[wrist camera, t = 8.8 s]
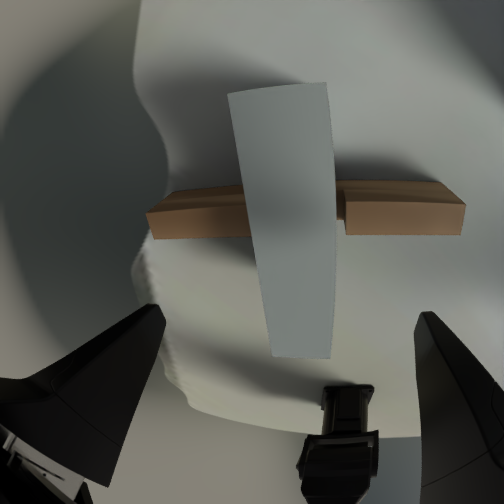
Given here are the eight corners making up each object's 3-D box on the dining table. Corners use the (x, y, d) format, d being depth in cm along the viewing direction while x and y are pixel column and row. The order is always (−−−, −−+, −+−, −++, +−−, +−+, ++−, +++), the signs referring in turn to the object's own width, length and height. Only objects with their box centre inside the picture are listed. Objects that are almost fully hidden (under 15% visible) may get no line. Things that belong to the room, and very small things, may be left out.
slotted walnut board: (438, 208, 16) (460, 235, 13) (179, 215, 21) (154, 239, 18) (441, 182, 15) (465, 204, 12) (173, 192, 20) (145, 213, 17)
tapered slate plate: (331, 277, 21) (330, 358, 15) (288, 277, 22) (271, 356, 15) (321, 91, 14) (326, 82, 8) (266, 95, 15) (227, 93, 8)
